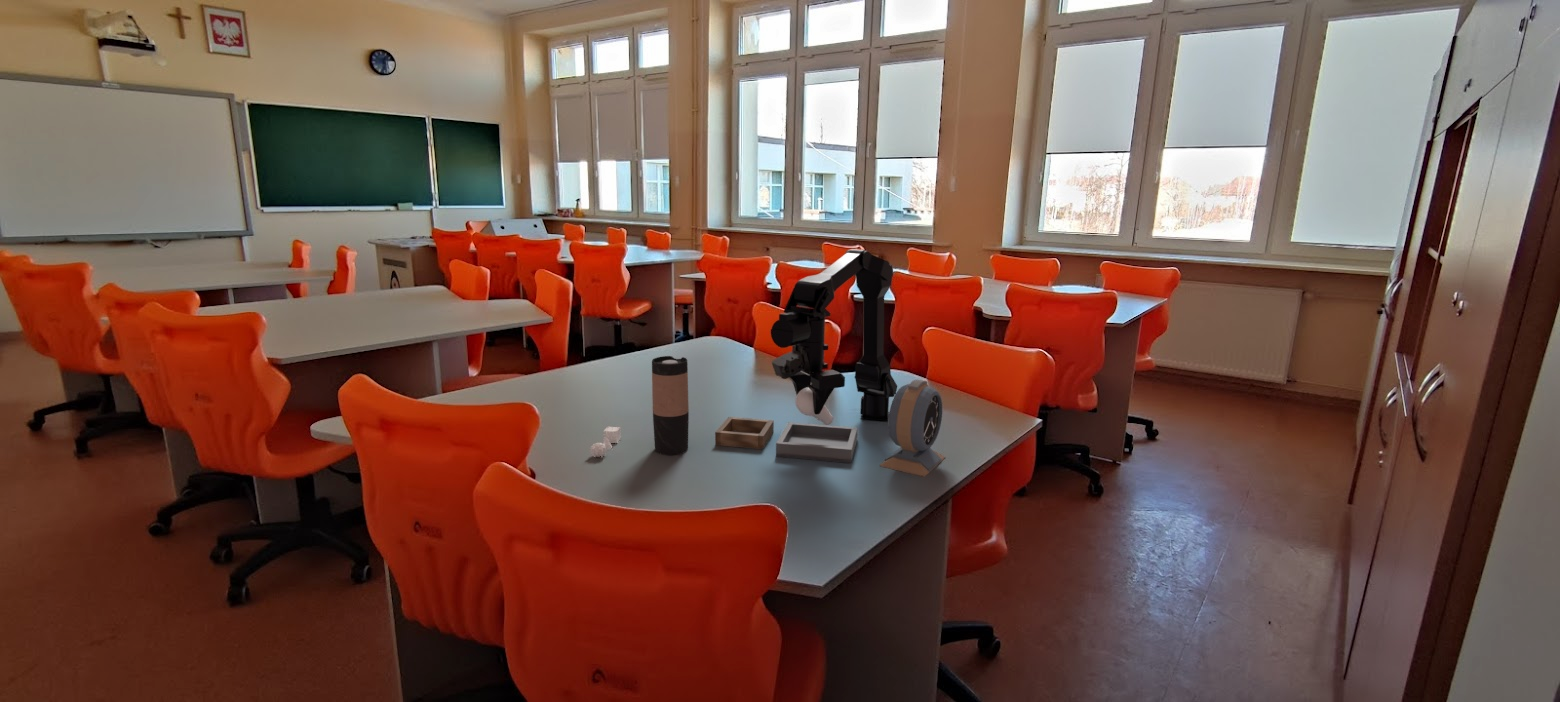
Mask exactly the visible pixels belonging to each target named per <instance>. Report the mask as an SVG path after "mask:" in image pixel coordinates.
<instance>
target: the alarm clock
mask: <svg viewBox="0 0 1560 702" xmlns="http://www.w3.org/2000/svg"><path fill="white" fill-rule="evenodd" d="M888 412H889V417H888V433H889V437H890V440H891V441H892V442H893V443H894V444H895V446H898V447H900V448H898V449H896V450H895V451H894V452H892V453H891V454H890V455H888V456H887V457H886V458H885V459H884V461H883V462H882V463H881V464H879V467H883V468H887V469H891V470H893V471H899V472H904V473H907V474H911V475H915V476H919V477H926V476H928V474H929V473H931V471H933V470H934V469H935V468H936V467H937V466H938V465H939V464H940V463H941V462H943V460H944V459H946V456H945V455H943V454H942V453H939V452H937V451H935V450H933V449H932V448H931V447H932V446H933V445H934V444H935V442H936V439H937V438H938V435H939V432H940V428H941V426H942V425H941V424H942V419H943V401H942V396H941V394H940V392H939V391H938V390H937V389H935V388H934V387H931V386H930V385H929V384H928V381H927V380H922V379H914V380H912V381H911V382H910V383H907V384H905V385H903V386H900V388H899V389H897V391H896V394H895V395H894V397H893V400H892V401H891V404H890V408H889V411H888Z"/></svg>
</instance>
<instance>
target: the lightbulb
mask: <svg viewBox="0 0 1560 702" xmlns="http://www.w3.org/2000/svg"><path fill="white" fill-rule="evenodd" d="M795 406H796V408H797V410H798V411H799V412H800V413H801V414H803V415H805V416H809V417H814V418H815V419H817V420H818V421H820V422H821V423H823V425H829V426H830V425H831V424H832V423H833V421H834V415H832V414H831V413H830V410H829V409H828V408H827V406H826V404H825V405H824V407H823V408H822V410H821V412H820V414H817V415H816V414H815V413H814V406H813V392H812V391H811V390H810V388H809V387H807V388H804V389H802V390H801V391H799V393H798V394H797V395H796V397H795Z"/></svg>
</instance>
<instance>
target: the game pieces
mask: <svg viewBox="0 0 1560 702" xmlns="http://www.w3.org/2000/svg"><path fill="white" fill-rule="evenodd" d="M621 430H622V428H621V427H620V426H615V427H614V426H609V425H608V426H606V428H605V429H603V432H602V434H603V440H602V442H596V443H592V446H590V447H589V450H590V454H591V455H592V456H593V458H594V457H595V458H601V457H602V458H603V456H605V455H606V453H608V451H607V449H611V448H612V447H613V446H612V445H613V444H611V443H618V444H619V442H620V441H619V440H620V439H621V440H622V434H621V433H622V431H621ZM618 441H619V442H618ZM610 442H611V443H610ZM600 456H601V457H600Z"/></svg>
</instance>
